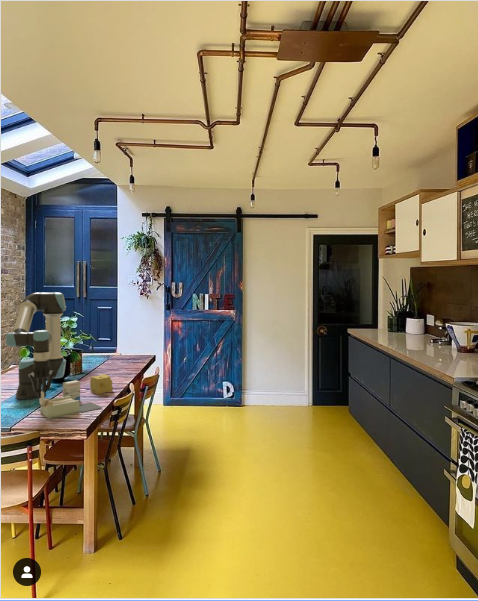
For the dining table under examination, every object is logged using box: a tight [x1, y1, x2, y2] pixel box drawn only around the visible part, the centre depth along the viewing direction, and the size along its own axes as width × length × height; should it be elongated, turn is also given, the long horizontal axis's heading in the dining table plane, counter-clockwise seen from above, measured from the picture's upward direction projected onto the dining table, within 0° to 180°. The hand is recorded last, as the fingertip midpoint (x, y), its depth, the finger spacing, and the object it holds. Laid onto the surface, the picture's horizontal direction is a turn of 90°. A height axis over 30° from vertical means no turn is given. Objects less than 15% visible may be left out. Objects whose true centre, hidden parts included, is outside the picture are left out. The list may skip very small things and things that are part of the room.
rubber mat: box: [79, 401, 103, 413], centre depth 238 cm, size 14×12×1 cm
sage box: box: [40, 396, 80, 420], centre depth 227 cm, size 12×16×7 cm
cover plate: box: [43, 398, 75, 408], centre depth 227 cm, size 9×15×4 cm, turn 135°
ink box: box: [62, 380, 81, 401], centre depth 250 cm, size 9×5×12 cm, turn 141°
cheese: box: [89, 374, 114, 395], centre depth 272 cm, size 10×11×10 cm
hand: (41, 403), depth 220 cm, fingers closed
